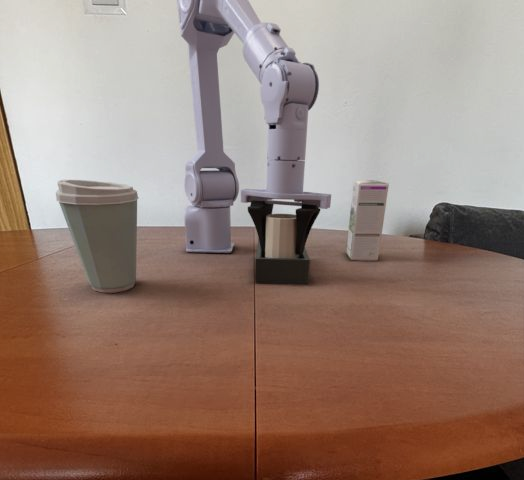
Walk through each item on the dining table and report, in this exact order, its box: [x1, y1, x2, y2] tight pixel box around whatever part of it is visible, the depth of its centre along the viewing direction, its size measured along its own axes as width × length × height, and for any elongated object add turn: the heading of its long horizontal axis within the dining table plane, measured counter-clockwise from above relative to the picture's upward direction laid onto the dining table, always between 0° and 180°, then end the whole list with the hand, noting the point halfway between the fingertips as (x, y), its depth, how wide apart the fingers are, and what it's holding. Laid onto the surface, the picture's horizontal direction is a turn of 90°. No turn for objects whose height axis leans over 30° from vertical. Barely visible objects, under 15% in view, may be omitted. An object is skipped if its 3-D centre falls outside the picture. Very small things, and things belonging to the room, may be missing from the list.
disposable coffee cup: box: [55, 179, 139, 294], centre depth 55 cm, size 11×11×15 cm
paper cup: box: [265, 213, 299, 259], centre depth 62 cm, size 6×6×8 cm
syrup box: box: [345, 179, 390, 262], centre depth 75 cm, size 6×6×14 cm
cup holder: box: [254, 237, 311, 285], centre depth 68 cm, size 9×16×4 cm, turn 179°
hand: (282, 251), depth 63 cm, fingers closed on paper cup, 6 cm apart
